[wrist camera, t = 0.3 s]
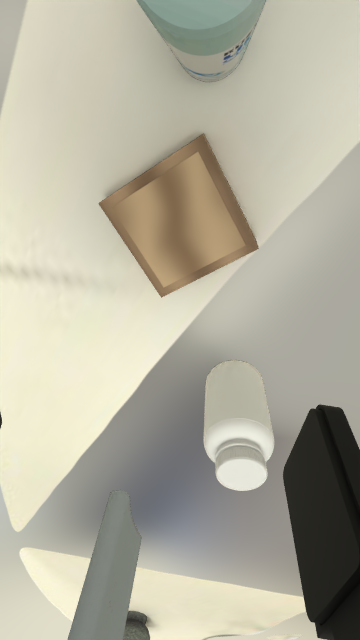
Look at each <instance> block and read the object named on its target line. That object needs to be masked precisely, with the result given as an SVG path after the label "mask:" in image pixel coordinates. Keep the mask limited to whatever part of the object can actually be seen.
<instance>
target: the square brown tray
mask: <svg viewBox="0 0 360 640" xmlns="http://www.w3.org/2000/svg"><path fill="white" fill-rule="evenodd" d="M99 205H100V206H101V208H102V209H103V211H104V212H105V214H106V215H107V217H108V218H109V220H110V221H111V223H112V224H113V226H114V227H115V229H116V230H117V232H118V233H119V235H120V236H121V238H122V239H123V241H124V242H125V244H126V245H127V247H128V248H129V250H130V251H131V253H132V254H133V256H134V257H135V259H136V260H137V262H138V263H139V265H140V266H141V268H142V269H143V271H144V272H145V274H146V275H147V277H148V278H149V280H150V281H151V283H152V284H153V286H154V287H155V289H156V290H157V292H158V293H159V295H160V296H161V297H163V296H165V295H167V294H169V293H171V292H173V291H175V290H177V289H179V288H181V287H183V286H185V285H187V284H189V283H191V282H193V281H195V280H197V279H199V278H201V277H203V276H205V275H207V274H209V273H211V272H213V271H215V270H217V269H219V268H221V267H223V266H225V265H227V264H229V263H231V262H233V261H235V260H237V259H239V258H241V257H243V256H245V255H247V254H249V253H251V252H253V251H255V250H257V249H259V248H258V245H257V242H256V239H255V237H254V235H253V233H252V231H251V229H250V227H249V225H248V223H247V221H246V219H245V217H244V215H243V212H242V210H241V208H240V206H239V204H238V202H237V200H236V198H235V196H234V194H233V192H232V190H231V188H230V186H229V184H228V182H227V180H226V178H225V176H224V174H223V172H222V170H221V168H220V166H219V164H218V162H217V159H216V157H215V155H214V153H213V151H212V149H211V147H210V145H209V143H208V141H207V139H206V137H205V135H204V134H202V135H201V136H199V137H198V138H196V139H195V140H193V141H192V142H190V143H189V144H187V145H186V146H184V147H183V148H181V149H180V150H178V151H177V152H175V153H174V154H172V155H171V156H169V157H168V158H166V159H165V160H163V161H162V162H160V163H159V164H157V165H155V166H154V167H152V168H151V169H149V170H148V171H146V172H145V173H143V174H142V175H140V176H139V177H137V178H136V179H134V180H133V181H131V182H130V183H128V184H127V185H125V186H124V187H122V188H121V189H119V190H118V191H116V192H115V193H113V194H112V195H110V196H109V197H107V198H106V199H104V200H103V201H101V202H100V203H99Z"/></svg>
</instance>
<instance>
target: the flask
mask: <svg viewBox="0 0 360 640" xmlns="http://www.w3.org/2000/svg"><path fill="white" fill-rule="evenodd" d="M140 544H141V535H140V533H139V532H138V530H137V528H136V526H135V524H134V521H133V518H132V514H131V510H130V496H129V494H128V493H126V492H125V491H119V490H116V491H112V492H111V493H110V496H109V500H108V503H107V506H106V510H105V513H104V517H103V520H102V524H101V527H100V530H99V534H98V537H97V541H96V544H95V548H94V551H93V554H92V558H91V561H90V565H89V568H88V571H87V575H86V578H85V582H84V585H83V588H82V592H81V595H80V599H79V602H78V606H77V609H76V612H75V616H74V619H73V623H72V627H71V630H70V633H69V637H68V640H123V636H124V630H125V625H126V619H127V614H128V609H129V603H130V598H131V592H132V587H133V582H134V576H135V571H136V565H137V560H138V555H139V549H140Z"/></svg>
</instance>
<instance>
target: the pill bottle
mask: <svg viewBox="0 0 360 640" xmlns="http://www.w3.org/2000/svg"><path fill="white" fill-rule="evenodd" d="M204 417H205V418H204V446H205V449H206V452H207V454H208V456H209V457H210V459H211V460H212V461H214V463H216V477H217V479H218V480H219V482H220V483H221V484H222V485H224V486H225V487H227V488H230V489H233V490H239V491H246V490H252V489H254V488H257V487H259V486H260V485H262V484H263V483H264V482H265V480H266V478H267V467H266V461H267V460H268V459H269V458H270V456H271V454H272V452H273V448H274V436H273V431H272V426H271V420H270V416H269V410H268V405H267V399H266V394H265V389H264V383H263V379H262V377H261V374H260V373H259V371H258V370H257V369H256V368H255V367H254V366H252V365H251V364H249V363H247V362H244V361H238V360H230V361H225V362H222V363H220V364H218V365H216V366H215V367H214V368H213V369H212V370H211V371H210V372H209V374H208V376H207V379H206V388H205V415H204Z"/></svg>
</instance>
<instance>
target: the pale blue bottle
mask: <svg viewBox="0 0 360 640" xmlns="http://www.w3.org/2000/svg"><path fill="white" fill-rule="evenodd" d="M137 2H138V3H139V5H140V6H141V8H142V9H143V11H144V12H145V14H146V15H147V16H148V18H149V19H150V21H151V22H152V24H153V25H154V26H155V28H156V29H157V31H158V32H159V34H160V35H161V36H162V38H163V39H164V41H165V42H166V43H167V45H168V46H169V48H170V49H171V51H172V52H173V53H174V55H175V56H176V58H177V59H178V61H179V62H180V63H181V65H182V66H183V68H184V69H185V70H186V71H187V72H188V73H189V74H190V75H191V76H192V77H194V78H196V79H198V80H200V81H205V82H213V81H218V80H221V79H223V78H225V77H226V76H228V75H229V74H230V73H231V72H233V71H234V69H235V68H236V67H237V66H238V64H239V63H240V61H241V59H242V57H243V55H244V53H245V50H246V48H247V46H248V43H249V41H250V38H251V36H252V34H253V31H254V29H255V26H256V24H257V22H258V19H259V17H260V14H261V12H262V9H263V7H264V5H265V2H266V0H137Z"/></svg>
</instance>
